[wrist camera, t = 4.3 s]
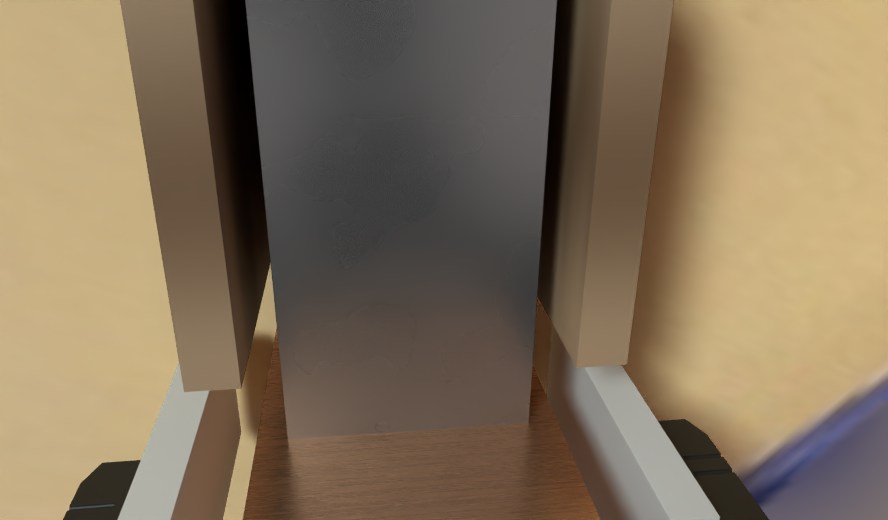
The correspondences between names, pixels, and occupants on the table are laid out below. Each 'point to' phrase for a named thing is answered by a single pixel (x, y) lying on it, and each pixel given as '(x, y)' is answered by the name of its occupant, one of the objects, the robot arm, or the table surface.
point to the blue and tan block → (406, 262)
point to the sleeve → (242, 194)
